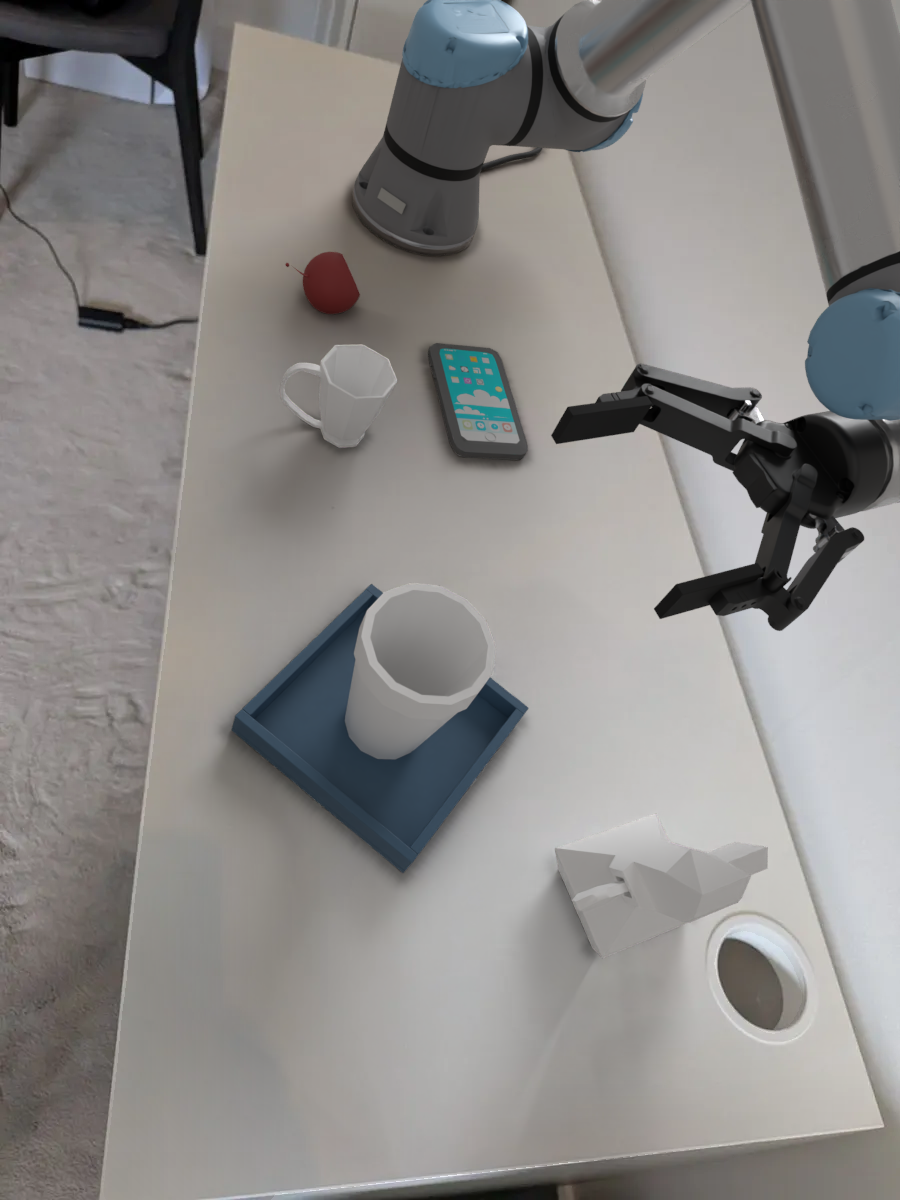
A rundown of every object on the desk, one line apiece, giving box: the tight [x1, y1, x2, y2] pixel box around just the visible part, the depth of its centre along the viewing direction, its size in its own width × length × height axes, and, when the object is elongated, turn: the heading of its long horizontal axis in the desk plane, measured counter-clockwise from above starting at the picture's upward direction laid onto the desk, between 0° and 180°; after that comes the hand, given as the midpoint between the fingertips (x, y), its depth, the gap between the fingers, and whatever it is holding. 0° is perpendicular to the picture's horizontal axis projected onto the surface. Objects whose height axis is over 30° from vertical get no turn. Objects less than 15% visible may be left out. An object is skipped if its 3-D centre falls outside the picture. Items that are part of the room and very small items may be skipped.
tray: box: [231, 583, 529, 874], centre depth 71 cm, size 17×17×3 cm
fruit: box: [285, 251, 361, 315], centre depth 94 cm, size 6×6×8 cm
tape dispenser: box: [554, 813, 769, 960], centre depth 65 cm, size 8×14×14 cm, turn 115°
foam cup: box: [345, 582, 497, 759], centre depth 66 cm, size 10×9×13 cm
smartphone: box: [427, 342, 529, 461], centre depth 95 cm, size 9×1×15 cm
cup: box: [278, 344, 398, 449], centre depth 84 cm, size 7×10×8 cm
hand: (611, 509), depth 55 cm, fingers open, 13 cm apart
